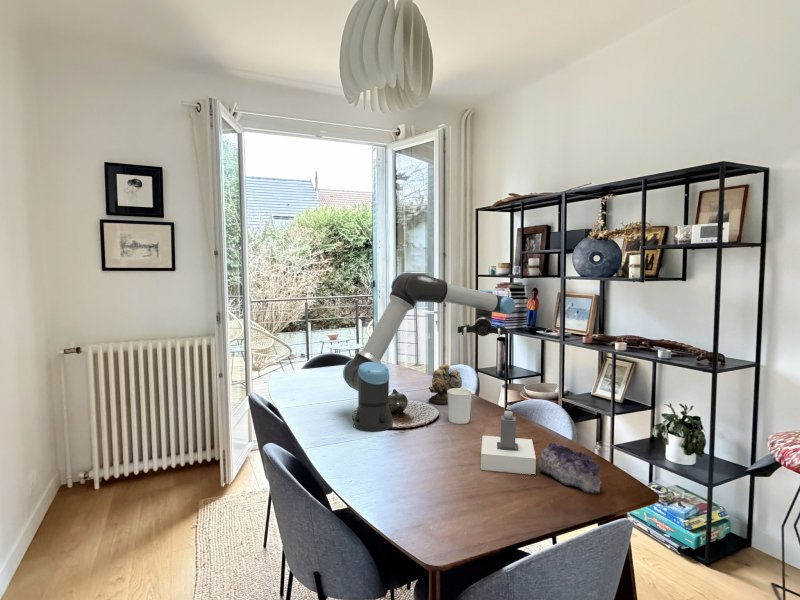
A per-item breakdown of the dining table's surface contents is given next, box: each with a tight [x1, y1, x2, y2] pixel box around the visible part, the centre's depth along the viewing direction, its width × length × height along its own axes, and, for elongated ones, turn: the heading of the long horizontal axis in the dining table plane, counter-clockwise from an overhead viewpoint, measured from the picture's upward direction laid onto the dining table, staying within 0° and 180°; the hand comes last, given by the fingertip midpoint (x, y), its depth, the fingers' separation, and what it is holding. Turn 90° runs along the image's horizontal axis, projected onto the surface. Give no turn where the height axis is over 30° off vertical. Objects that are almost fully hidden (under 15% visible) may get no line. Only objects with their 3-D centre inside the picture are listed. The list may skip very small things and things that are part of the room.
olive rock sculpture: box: [428, 364, 463, 406], centre depth 218 cm, size 18×12×17 cm, turn 117°
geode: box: [537, 442, 602, 494], centre depth 140 cm, size 20×12×10 cm, turn 30°
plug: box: [499, 410, 517, 451], centre depth 151 cm, size 4×4×15 cm
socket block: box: [480, 435, 537, 475], centre depth 151 cm, size 16×16×5 cm
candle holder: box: [447, 387, 473, 425], centre depth 191 cm, size 10×10×12 cm
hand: (481, 333), depth 191 cm, fingers open, 13 cm apart
